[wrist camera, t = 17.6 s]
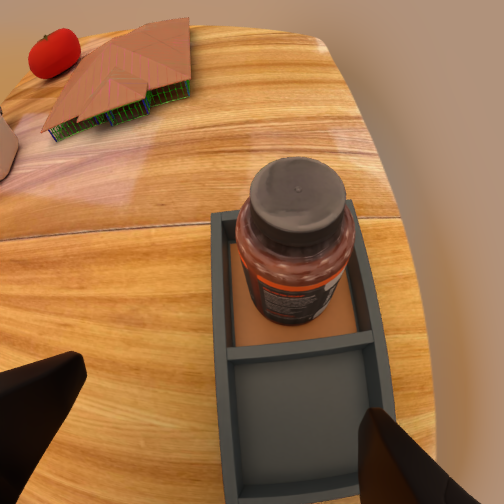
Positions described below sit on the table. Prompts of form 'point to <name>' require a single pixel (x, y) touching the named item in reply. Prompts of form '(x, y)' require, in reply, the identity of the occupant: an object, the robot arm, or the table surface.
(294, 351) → the tray
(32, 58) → the tomato
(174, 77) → the house
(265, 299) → the supplement bottle
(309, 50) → the table surface
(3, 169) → the beige ceramic bottle
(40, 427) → the robot arm
